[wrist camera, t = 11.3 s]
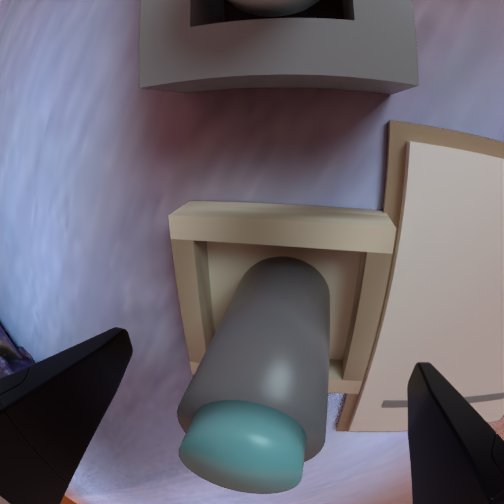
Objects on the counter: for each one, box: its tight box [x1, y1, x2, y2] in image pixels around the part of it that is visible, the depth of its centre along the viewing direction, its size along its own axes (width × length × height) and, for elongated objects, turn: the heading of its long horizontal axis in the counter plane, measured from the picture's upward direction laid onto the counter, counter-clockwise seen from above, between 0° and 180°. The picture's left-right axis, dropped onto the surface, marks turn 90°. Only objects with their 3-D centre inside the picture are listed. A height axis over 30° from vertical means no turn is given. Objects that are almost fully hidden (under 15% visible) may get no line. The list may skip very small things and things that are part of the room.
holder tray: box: [168, 201, 396, 394], centre depth 11 cm, size 7×7×2 cm
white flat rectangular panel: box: [336, 120, 504, 432], centre depth 10 cm, size 11×15×1 cm
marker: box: [177, 256, 330, 494], centre depth 8 cm, size 3×3×7 cm
